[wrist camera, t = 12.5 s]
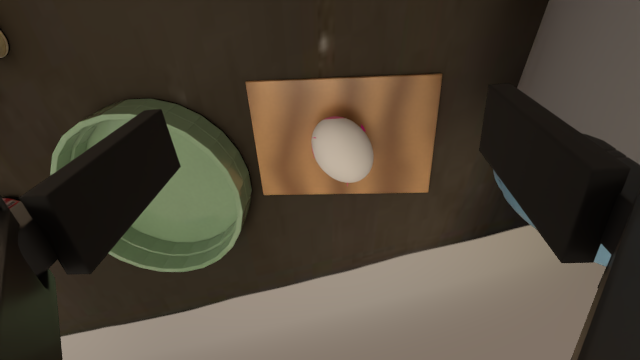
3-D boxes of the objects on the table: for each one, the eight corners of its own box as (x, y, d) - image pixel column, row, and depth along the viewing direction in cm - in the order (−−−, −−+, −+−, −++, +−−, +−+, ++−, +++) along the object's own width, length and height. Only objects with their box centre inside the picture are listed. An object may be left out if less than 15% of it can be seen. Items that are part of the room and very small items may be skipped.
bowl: (235, 94, 38) (222, 110, 34) (262, 245, 49) (254, 272, 44) (49, 101, 39) (13, 117, 35) (115, 246, 50) (94, 272, 46)
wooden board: (441, 73, 36) (442, 74, 35) (427, 190, 43) (428, 192, 42) (246, 80, 37) (245, 82, 37) (264, 193, 44) (263, 195, 44)
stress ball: (312, 111, 41) (278, 146, 38) (362, 91, 35) (327, 130, 32) (346, 161, 44) (317, 198, 40) (398, 151, 38) (370, 193, 34)
